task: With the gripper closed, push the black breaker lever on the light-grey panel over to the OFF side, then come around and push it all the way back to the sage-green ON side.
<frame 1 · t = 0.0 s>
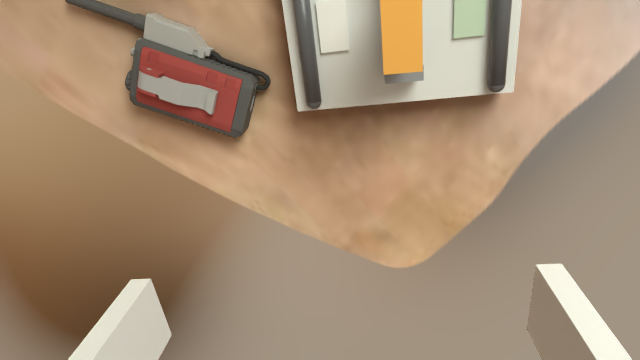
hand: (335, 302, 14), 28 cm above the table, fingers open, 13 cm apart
walkie-talkie: (172, 64, 40), on the table
lever: (401, 23, 28), point 8 cm above the table, hinge at 5.0°
panel: (396, 16, 35), on the table
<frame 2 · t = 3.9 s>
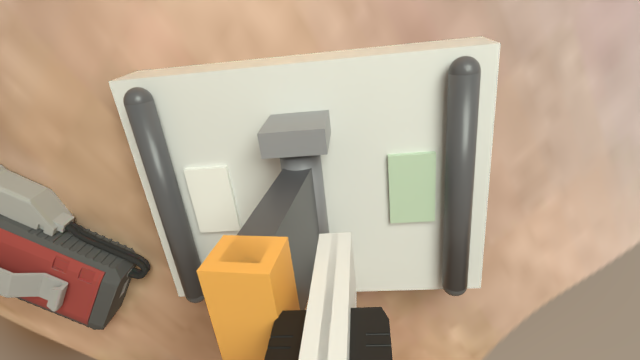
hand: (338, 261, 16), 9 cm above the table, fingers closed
walkie-talkie: (21, 218, 29), on the table
lever: (286, 249, 17), point 8 cm above the table, hinge at 7.2°, touching gripper
panel: (314, 171, 25), on the table
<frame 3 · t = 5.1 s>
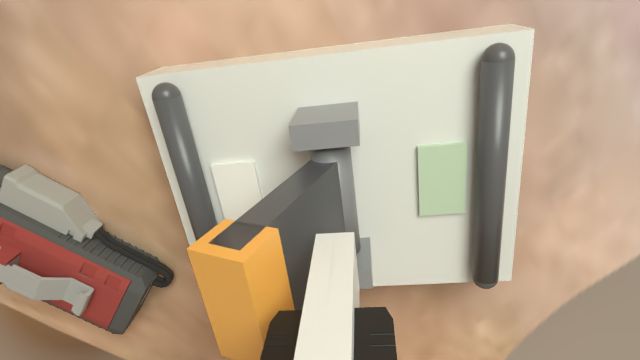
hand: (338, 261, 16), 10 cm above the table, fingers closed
walkie-talkie: (47, 220, 29), on the table
lever: (299, 239, 17), point 8 cm above the table, hinge at 22.7°
panel: (340, 164, 24), on the table
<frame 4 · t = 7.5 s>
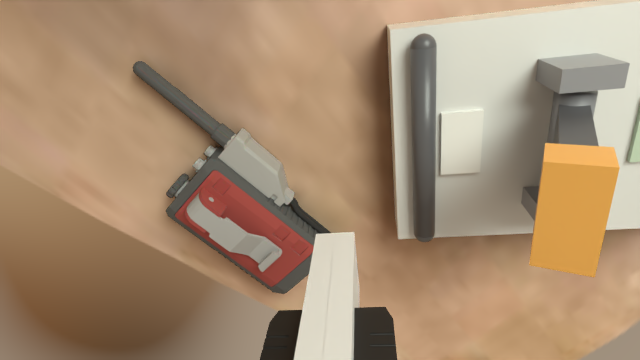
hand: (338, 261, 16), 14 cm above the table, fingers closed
walkie-talkie: (232, 180, 31), on the table
lever: (568, 171, 20), point 8 cm above the table, hinge at 22.8°
panel: (535, 119, 26), on the table
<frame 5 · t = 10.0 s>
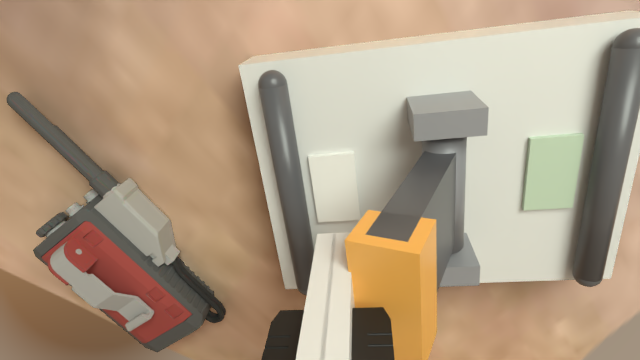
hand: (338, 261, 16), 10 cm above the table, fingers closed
walkie-talkie: (118, 225, 29), on the table
lever: (423, 233, 17), point 8 cm above the table, hinge at 22.3°, touching gripper
panel: (430, 158, 24), on the table
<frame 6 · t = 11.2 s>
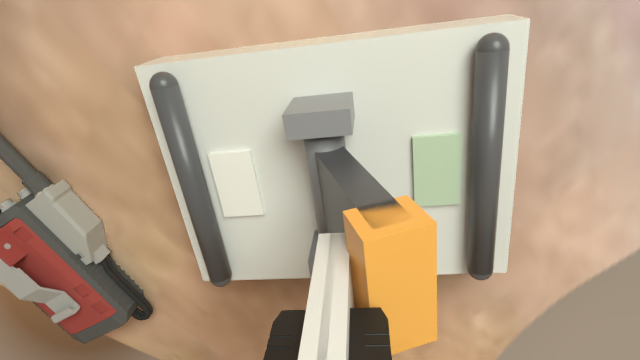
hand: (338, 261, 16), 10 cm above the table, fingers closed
walkie-talkie: (53, 221, 30), on the table
lever: (355, 225, 17), point 8 cm above the table, hinge at -21.6°, touching gripper
panel: (337, 155, 25), on the table
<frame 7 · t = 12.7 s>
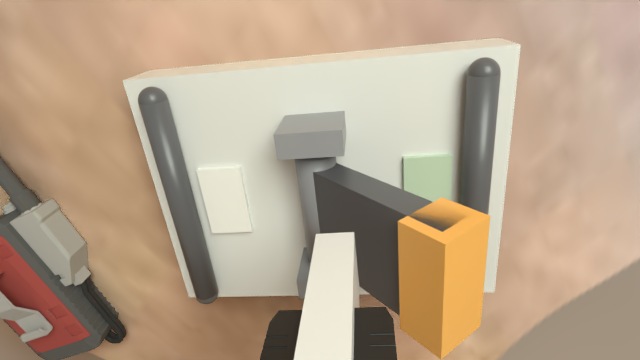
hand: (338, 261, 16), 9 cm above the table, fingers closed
walkie-talkie: (33, 236, 29), on the table
lever: (371, 237, 18), point 7 cm above the table, hinge at -41.9°
panel: (327, 172, 24), on the table
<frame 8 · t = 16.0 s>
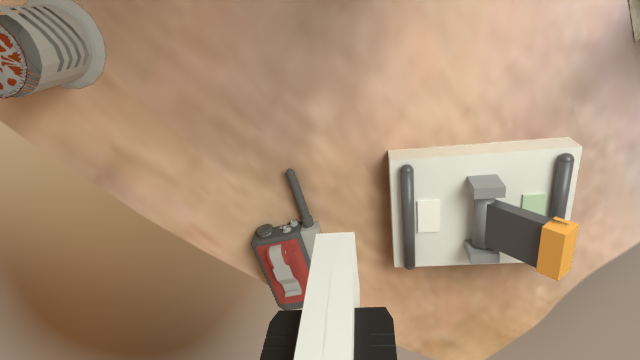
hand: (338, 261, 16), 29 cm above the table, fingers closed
walkie-talkie: (291, 238, 52), on the table
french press: (56, 35, 43), on the table
lever: (517, 233, 40), point 7 cm above the table, hinge at -41.9°
panel: (472, 199, 46), on the table
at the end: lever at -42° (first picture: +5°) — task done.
